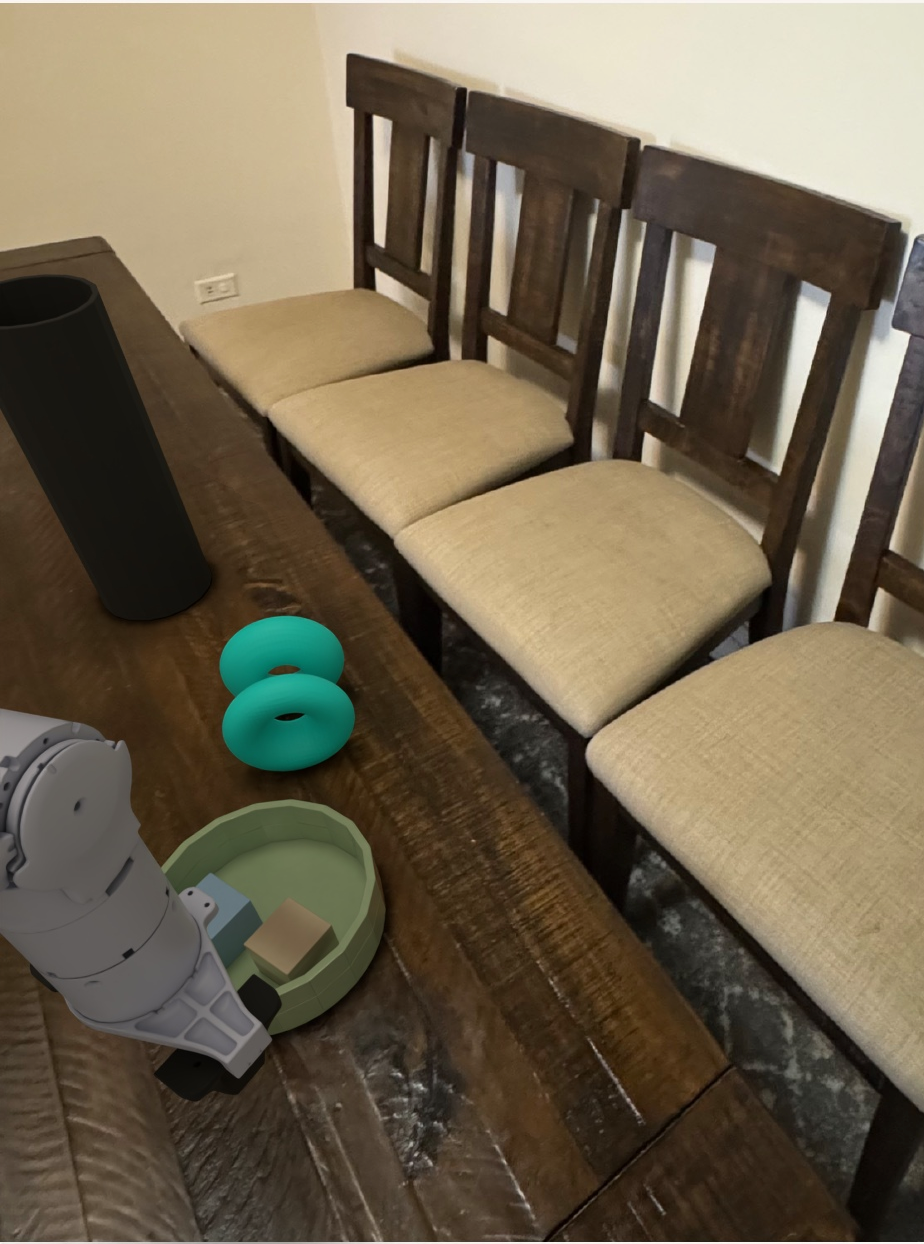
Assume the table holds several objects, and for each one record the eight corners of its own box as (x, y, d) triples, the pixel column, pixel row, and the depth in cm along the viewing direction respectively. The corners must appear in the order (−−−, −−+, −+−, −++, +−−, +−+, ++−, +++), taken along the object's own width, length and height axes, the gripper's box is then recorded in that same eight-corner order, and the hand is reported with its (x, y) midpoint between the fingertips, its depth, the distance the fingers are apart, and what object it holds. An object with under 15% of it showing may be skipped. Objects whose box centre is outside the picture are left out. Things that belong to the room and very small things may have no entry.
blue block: (220, 974, 59) (203, 947, 56) (181, 945, 60) (161, 917, 57) (265, 927, 61) (250, 899, 58) (226, 900, 63) (210, 872, 60)
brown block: (301, 1001, 58) (287, 975, 55) (258, 970, 59) (242, 944, 56) (343, 951, 60) (331, 924, 57) (301, 923, 61) (288, 896, 59)
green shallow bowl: (274, 1085, 54) (253, 1056, 51) (115, 962, 60) (86, 928, 56) (429, 896, 64) (420, 861, 60) (280, 805, 69) (264, 768, 66)
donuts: (351, 677, 79) (329, 598, 73) (366, 759, 73) (344, 680, 66) (237, 703, 77) (203, 623, 70) (242, 791, 70) (205, 712, 63)
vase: (101, 631, 83) (-61, 336, 62) (105, 567, 89) (-40, 282, 69) (214, 607, 86) (96, 318, 65) (210, 547, 92) (101, 268, 72)
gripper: (289, 921, 37) (349, 1041, 46) (75, 777, 42) (168, 911, 51) (150, 1071, 32) (247, 1170, 42) (-71, 889, 38) (60, 1014, 47)
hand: (196, 1035), depth 46 cm, fingers open, 7 cm apart
